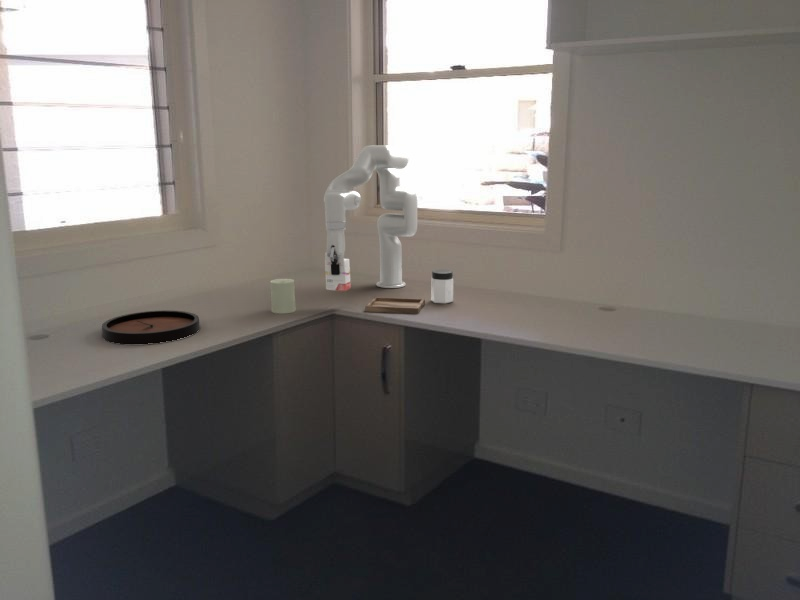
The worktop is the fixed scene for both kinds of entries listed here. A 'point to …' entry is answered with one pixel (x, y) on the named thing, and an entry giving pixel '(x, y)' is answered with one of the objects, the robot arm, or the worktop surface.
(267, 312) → the worktop surface
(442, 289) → the jar
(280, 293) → the can
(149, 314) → the wall clock
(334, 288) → the ink cartridge box
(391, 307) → the tray
